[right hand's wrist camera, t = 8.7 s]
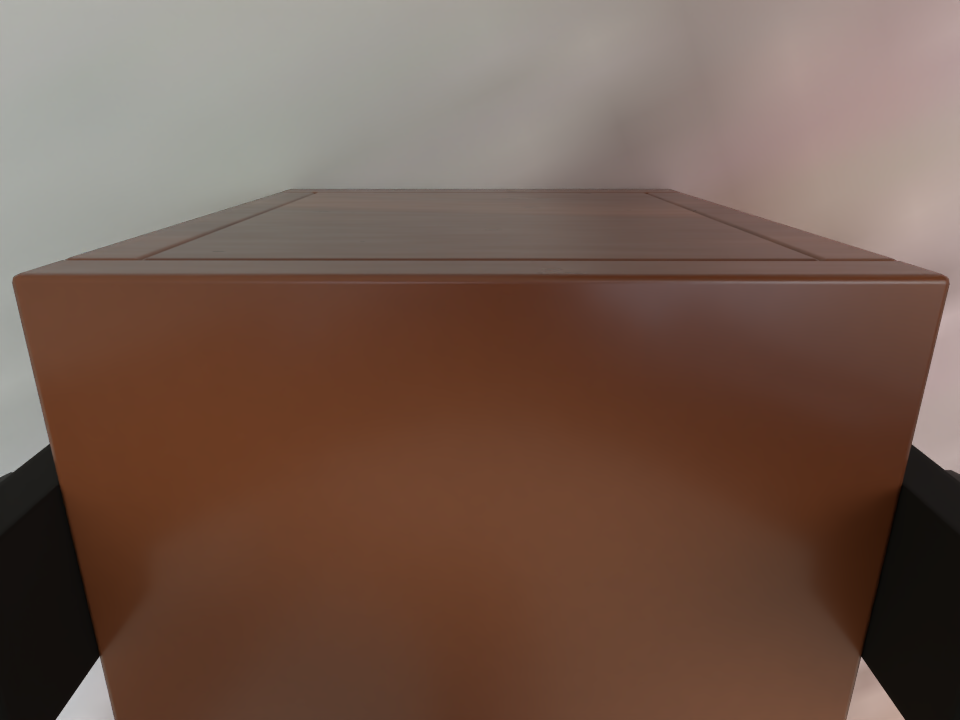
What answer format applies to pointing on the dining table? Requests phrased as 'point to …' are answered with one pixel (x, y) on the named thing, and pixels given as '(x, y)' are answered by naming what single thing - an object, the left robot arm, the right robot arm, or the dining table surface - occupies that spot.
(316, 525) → the cabinet
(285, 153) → the dining table surface
